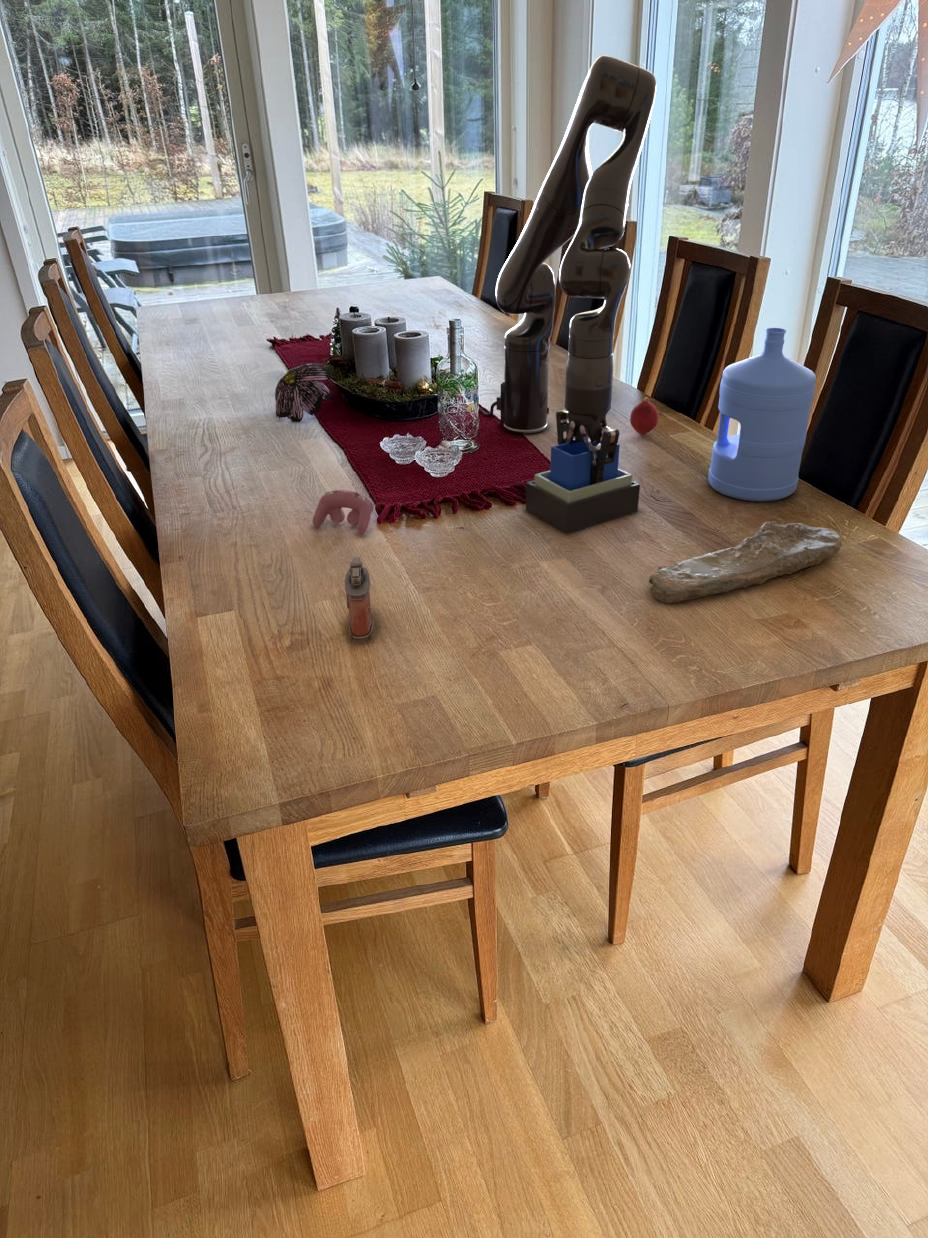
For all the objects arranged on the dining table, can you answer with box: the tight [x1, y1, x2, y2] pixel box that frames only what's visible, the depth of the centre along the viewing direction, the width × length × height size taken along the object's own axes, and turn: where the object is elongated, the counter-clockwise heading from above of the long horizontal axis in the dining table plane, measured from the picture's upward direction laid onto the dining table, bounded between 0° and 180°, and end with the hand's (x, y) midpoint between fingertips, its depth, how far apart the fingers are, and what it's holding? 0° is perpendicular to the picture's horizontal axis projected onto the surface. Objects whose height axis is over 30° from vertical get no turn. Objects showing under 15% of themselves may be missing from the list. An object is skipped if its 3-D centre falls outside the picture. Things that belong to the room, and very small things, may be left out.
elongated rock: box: [648, 520, 842, 604], centre depth 135 cm, size 35×5×10 cm
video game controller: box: [312, 489, 375, 535], centre depth 152 cm, size 10×5×7 cm, turn 71°
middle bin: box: [533, 467, 633, 503], centre depth 154 cm, size 14×10×6 cm
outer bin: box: [525, 480, 641, 535], centre depth 155 cm, size 16×12×5 cm
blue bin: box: [549, 442, 620, 491], centre depth 152 cm, size 10×6×7 cm, turn 122°
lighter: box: [344, 556, 375, 644], centre depth 122 cm, size 8×3×10 cm, turn 5°
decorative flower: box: [274, 362, 332, 423], centre depth 202 cm, size 14×12×15 cm
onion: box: [629, 396, 659, 436], centre depth 186 cm, size 6×6×8 cm
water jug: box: [707, 327, 817, 502], centre depth 157 cm, size 16×16×28 cm
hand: (583, 478), depth 153 cm, fingers closed on blue bin, 5 cm apart
